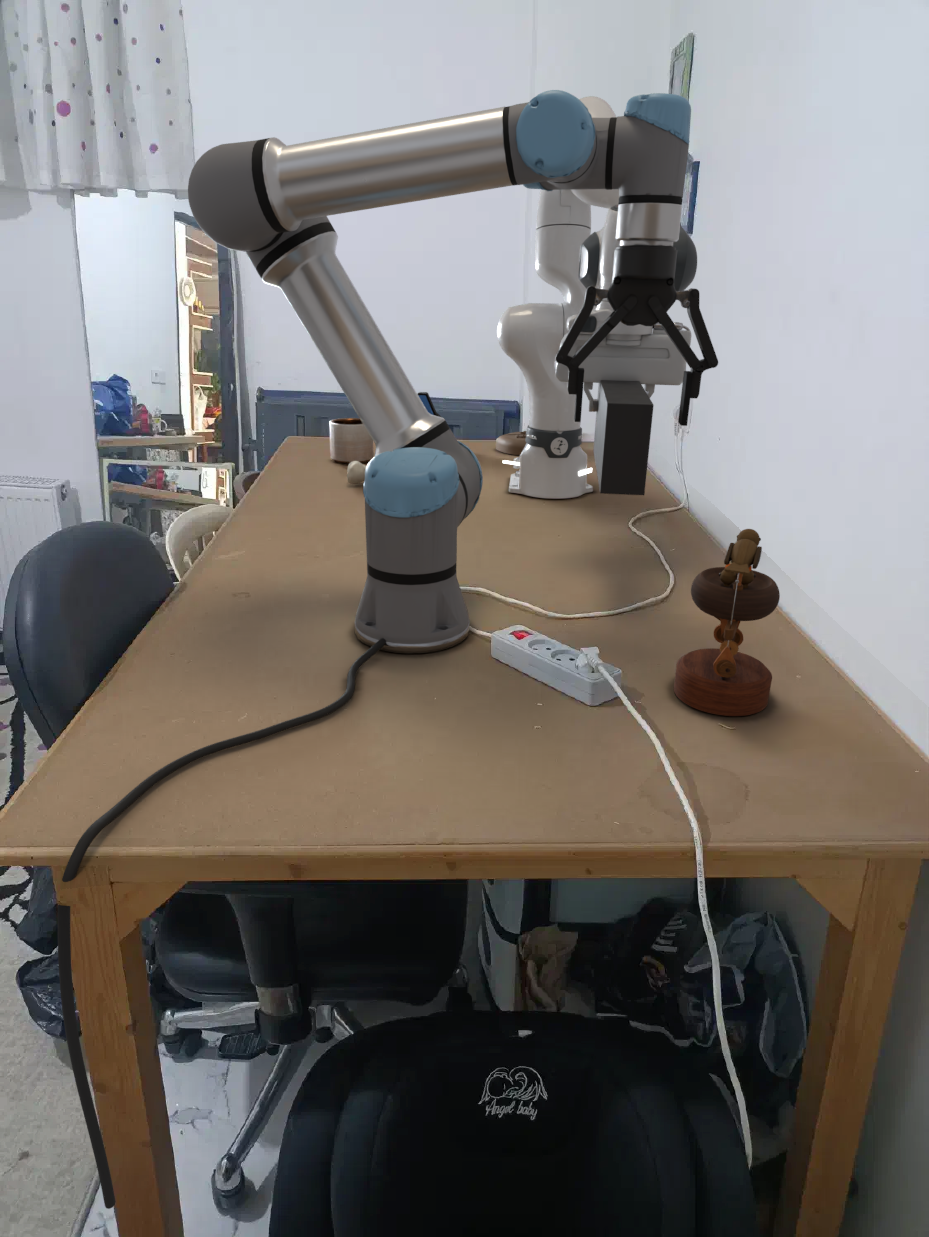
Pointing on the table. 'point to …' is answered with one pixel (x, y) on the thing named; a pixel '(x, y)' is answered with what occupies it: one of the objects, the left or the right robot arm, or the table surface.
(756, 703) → the music box
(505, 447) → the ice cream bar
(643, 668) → the table surface
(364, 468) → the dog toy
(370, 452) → the planter
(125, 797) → the left robot arm
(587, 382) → the right robot arm
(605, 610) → the table surface
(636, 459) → the box
